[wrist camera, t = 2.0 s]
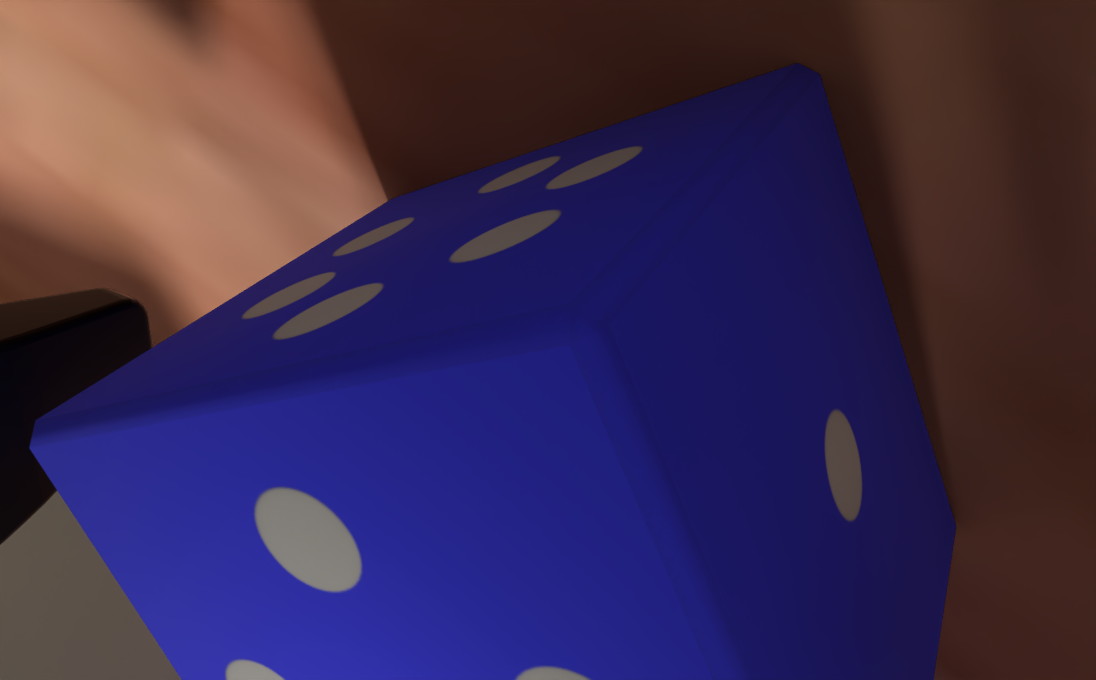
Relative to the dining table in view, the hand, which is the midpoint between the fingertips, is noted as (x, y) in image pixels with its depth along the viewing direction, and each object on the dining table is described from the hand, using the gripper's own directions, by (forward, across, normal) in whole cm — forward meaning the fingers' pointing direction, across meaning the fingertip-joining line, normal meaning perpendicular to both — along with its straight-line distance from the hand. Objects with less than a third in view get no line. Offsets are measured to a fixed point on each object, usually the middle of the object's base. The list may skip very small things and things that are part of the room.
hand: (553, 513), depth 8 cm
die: (+3, 0, 0) cm, 3 cm away
